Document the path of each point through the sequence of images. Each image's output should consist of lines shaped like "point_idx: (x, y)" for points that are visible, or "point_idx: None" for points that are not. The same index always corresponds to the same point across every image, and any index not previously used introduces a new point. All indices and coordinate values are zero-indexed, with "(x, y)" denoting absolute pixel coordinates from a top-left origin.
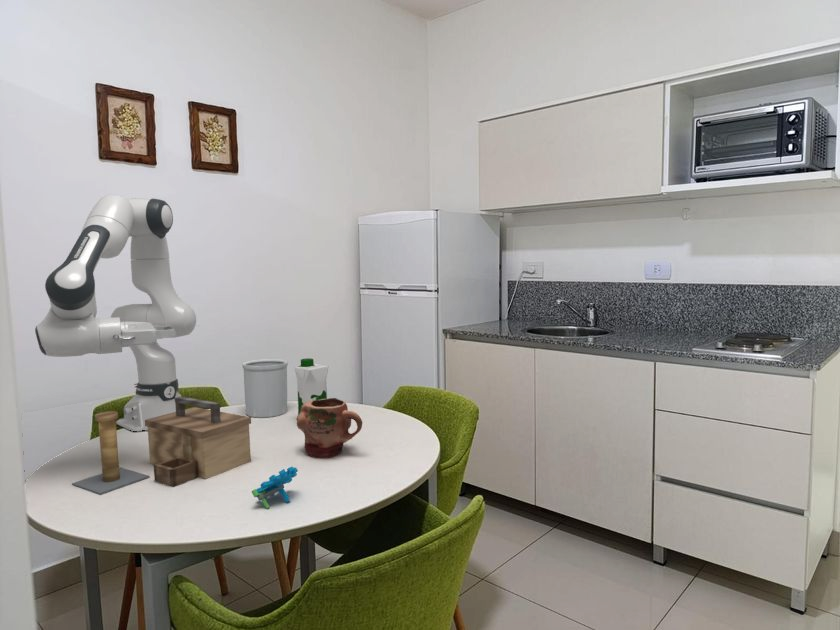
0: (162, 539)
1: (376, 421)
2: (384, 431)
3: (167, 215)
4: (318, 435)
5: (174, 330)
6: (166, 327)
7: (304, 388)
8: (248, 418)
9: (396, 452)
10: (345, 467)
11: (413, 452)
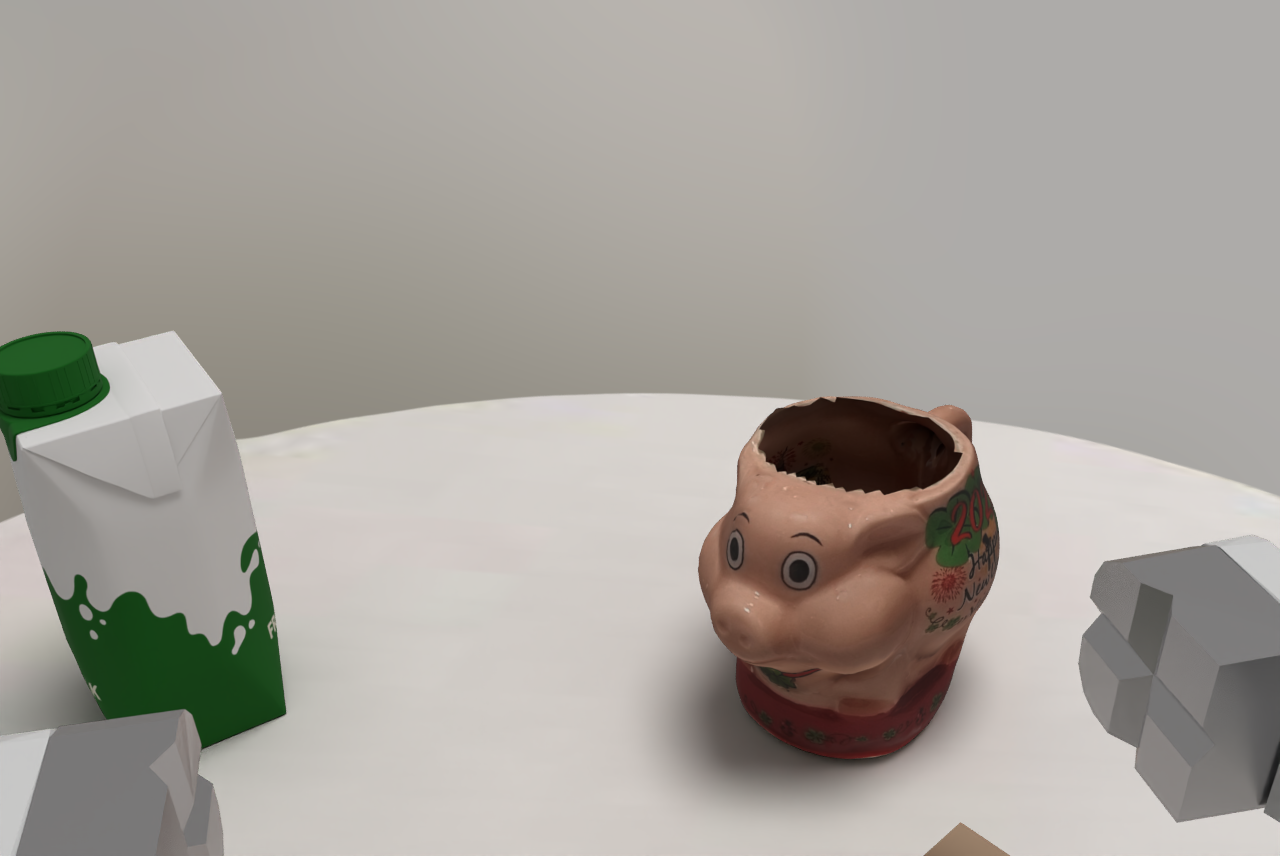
0: None
1: (399, 489)
2: (582, 484)
3: None
4: (975, 611)
5: (1256, 546)
6: (177, 827)
7: (199, 538)
8: (983, 839)
9: None
10: None
11: None
